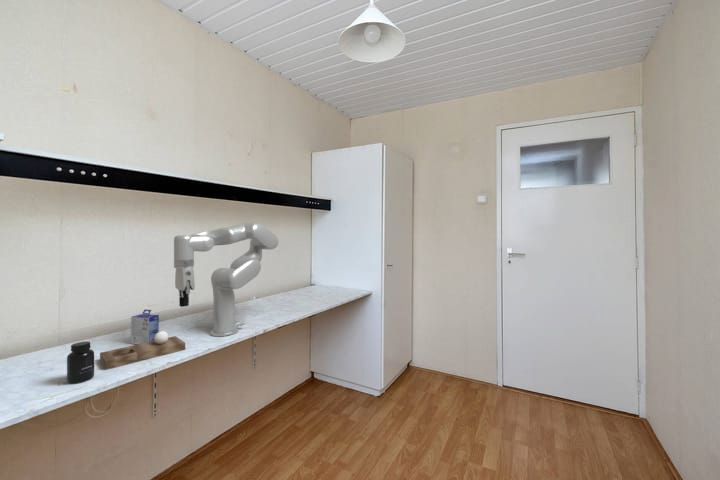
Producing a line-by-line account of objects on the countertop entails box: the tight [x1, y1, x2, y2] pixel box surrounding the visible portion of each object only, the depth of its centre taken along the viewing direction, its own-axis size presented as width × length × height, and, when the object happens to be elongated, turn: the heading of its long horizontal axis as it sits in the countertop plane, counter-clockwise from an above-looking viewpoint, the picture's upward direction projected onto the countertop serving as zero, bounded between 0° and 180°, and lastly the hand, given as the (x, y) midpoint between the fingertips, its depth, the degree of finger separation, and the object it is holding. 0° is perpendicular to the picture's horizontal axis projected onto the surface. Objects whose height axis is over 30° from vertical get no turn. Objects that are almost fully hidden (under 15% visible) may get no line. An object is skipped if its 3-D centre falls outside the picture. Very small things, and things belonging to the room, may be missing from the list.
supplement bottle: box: [66, 341, 95, 385], centre depth 104 cm, size 7×7×12 cm
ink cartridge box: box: [130, 309, 160, 345], centre depth 138 cm, size 10×6×14 cm, turn 78°
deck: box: [99, 335, 186, 371], centre depth 125 cm, size 26×12×3 cm, turn 138°
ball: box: [154, 330, 170, 344], centre depth 129 cm, size 5×5×5 cm
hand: (184, 305), depth 135 cm, fingers closed
